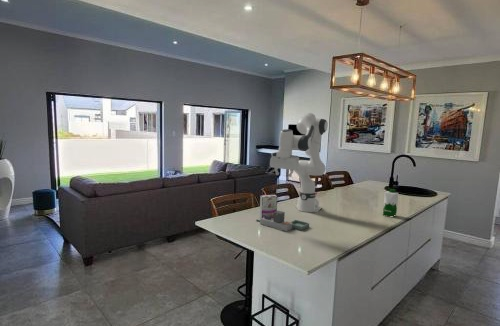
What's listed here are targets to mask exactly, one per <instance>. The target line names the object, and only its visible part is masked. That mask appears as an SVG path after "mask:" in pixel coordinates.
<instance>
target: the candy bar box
mask: <svg viewBox="0 0 500 326" xmlns="http://www.w3.org/2000/svg"><path fill="white" fill-rule="evenodd" d="M259 200H260V201H259V205H260V206H259V220H260V219H261V218H264V216H265V215H270V216H271V218H274V212H276V211H278V195H276V194H262V195H260V199H259Z"/></svg>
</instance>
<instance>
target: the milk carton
mask: <svg viewBox="0 0 500 326" xmlns="http://www.w3.org/2000/svg"><path fill="white" fill-rule="evenodd" d="M383 196H384V200H383V209H382V210H383V211H382V216H384V215H388V216H394V215H396V216H397V211H398V210H397V209H398V201H399V192H396V189H394V188H390V189H389V190H387V191H385V192H384V195H383ZM388 216H387V217H388ZM394 217H395V216H394Z"/></svg>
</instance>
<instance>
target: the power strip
mask: <svg viewBox="0 0 500 326" xmlns="http://www.w3.org/2000/svg"><path fill="white" fill-rule="evenodd" d="M273 219H274V218H271V216H270V215H265V216H264V218H261V219H260V218H259V219H256V222H259V224H260V225H262V226H266V227H270V228H273V229H276V230H281V231H285V232H287V231H290V230H292V229H293V228H292V223H290V222H291V221H285V220H284V222H281V223H278V222H274V221H273Z"/></svg>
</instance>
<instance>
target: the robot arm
mask: <svg viewBox="0 0 500 326" xmlns="http://www.w3.org/2000/svg"><path fill="white" fill-rule="evenodd" d="M328 124H329V123H328V121H327V119H325V118H317V117H316V115H315V114H314V113H312V112H307V113H304V115H302V116H301V117H300V118H299V120H298V121H297V123H296V130H297V131H298V132H299V133H300V134H301V135H299V134H298V135H296V134H294V133H293V130H292V129H288V128H287V129H281V130H280V132H279V136H278V137H279V139H278V145H279V146H278V151H274V152H271V157H270V159H269V167H270V168H274V172H275V175H276V176H279V175H280V172H279V171H278V169H283V170H289V171H290V173H288V174H287V175H288V177H289V178H291V177H293V176H292V174H293V173H294V172H295V173H296V174H297V176H298V177H299V181H300V190H299V197H298V198H297V204H296V206H295V208H296V209H297V210H298V211H300V212H306V213H318V212H319V211H320V210H322V206H320V201H319V200H318V198H317V197H316V195H317V194H318V192H316V183H315V181H314V180H313V179H311V177H310V176H316V177H317V176H323V175H324V174H325V172H326V166H325V163H324V162H323V161H322V160H321V156H320V152H321V146H322V135H324V134H325V133H326V132H327V130H328ZM293 150H294V151H302V152H305V155H307V156H308V157H309V160H306V159H305V160H304V159H300V157H299V156H298V155H293Z"/></svg>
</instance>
